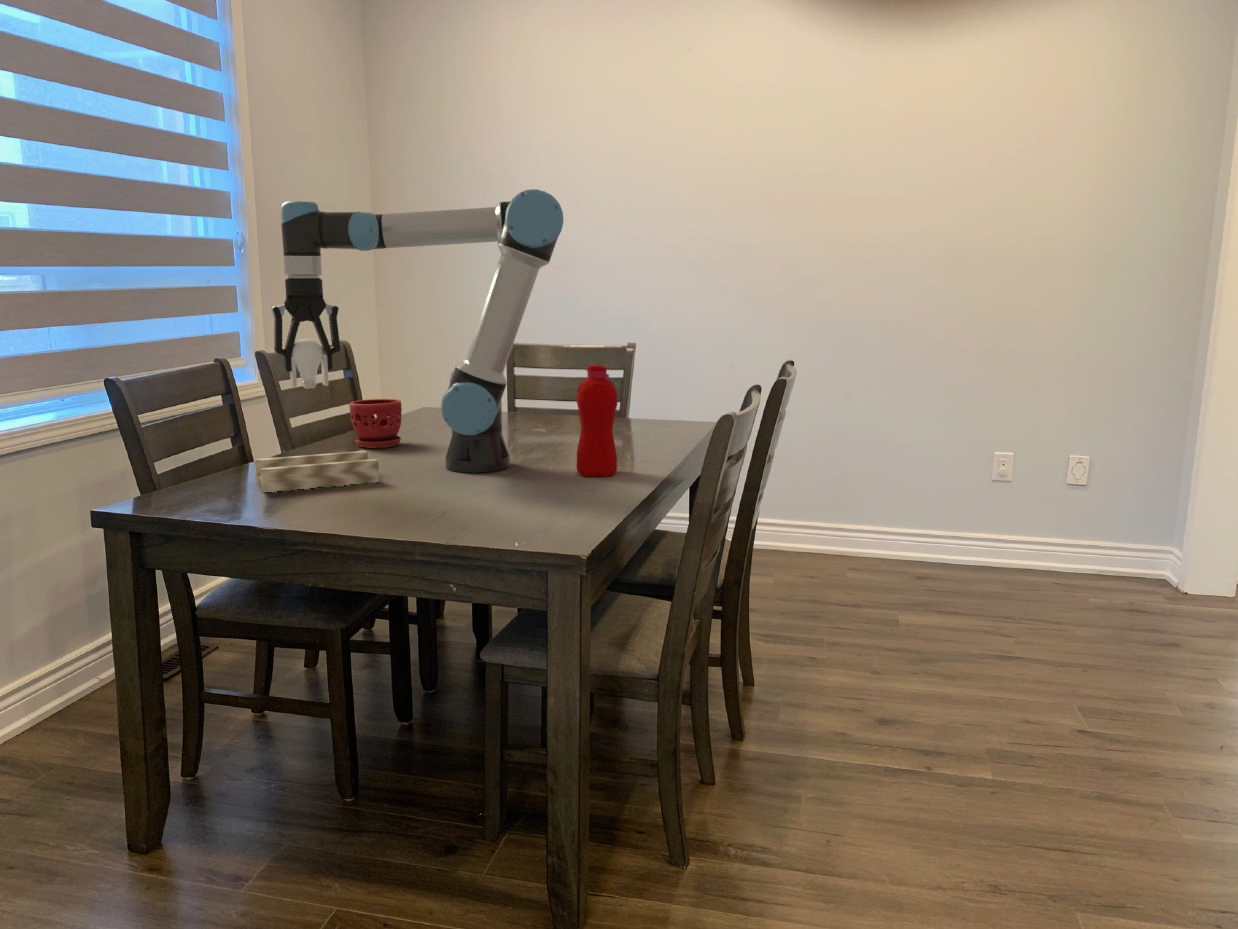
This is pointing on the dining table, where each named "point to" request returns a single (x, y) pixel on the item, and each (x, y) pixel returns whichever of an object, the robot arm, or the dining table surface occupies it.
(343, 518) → the dining table surface
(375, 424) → the plant pot
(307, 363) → the light bulb
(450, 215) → the robot arm
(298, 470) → the beige chevron holder
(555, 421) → the dining table surface
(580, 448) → the water bottle
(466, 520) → the dining table surface
